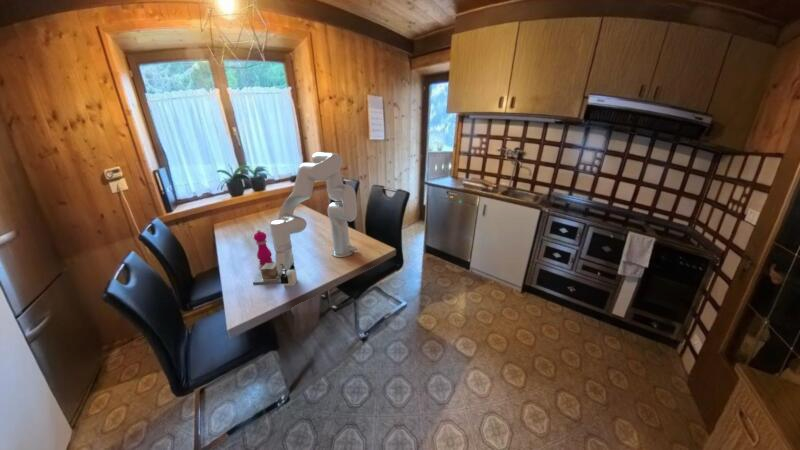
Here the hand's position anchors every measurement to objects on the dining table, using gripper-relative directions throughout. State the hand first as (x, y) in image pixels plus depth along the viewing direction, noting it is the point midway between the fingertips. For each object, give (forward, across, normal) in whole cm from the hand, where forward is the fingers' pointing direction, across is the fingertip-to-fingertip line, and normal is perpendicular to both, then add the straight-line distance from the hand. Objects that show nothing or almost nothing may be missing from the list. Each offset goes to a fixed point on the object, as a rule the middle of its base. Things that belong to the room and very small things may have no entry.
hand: (288, 277), depth 129 cm
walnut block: (+2, -5, -11) cm, 12 cm away
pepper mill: (+3, -22, -21) cm, 31 cm away
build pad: (+3, -5, -11) cm, 12 cm away
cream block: (+3, 0, 0) cm, 3 cm away
